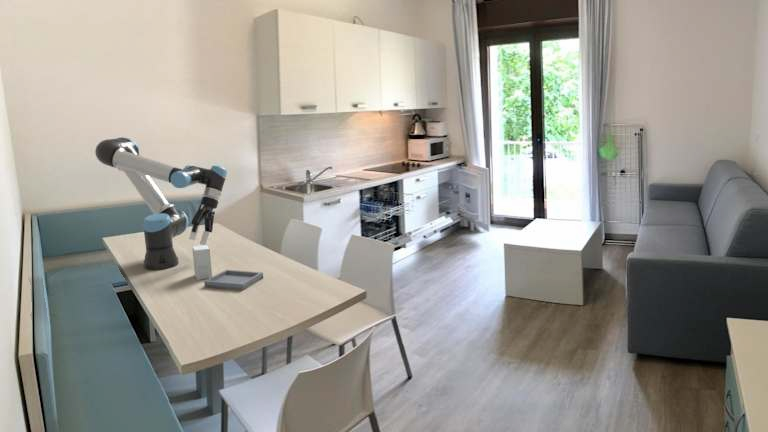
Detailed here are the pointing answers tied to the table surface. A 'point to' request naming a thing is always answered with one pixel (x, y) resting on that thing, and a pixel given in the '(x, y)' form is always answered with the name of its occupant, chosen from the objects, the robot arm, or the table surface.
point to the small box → (202, 262)
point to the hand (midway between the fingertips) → (197, 242)
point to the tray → (234, 279)
